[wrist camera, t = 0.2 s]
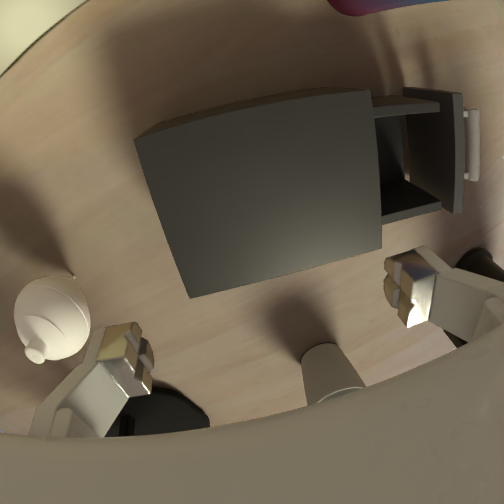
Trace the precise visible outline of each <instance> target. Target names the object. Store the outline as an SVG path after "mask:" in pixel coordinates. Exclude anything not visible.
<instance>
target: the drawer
mask: <svg viewBox="0 0 504 504" xmlns="http://www.w3.org/2000/svg"><path fill="white" fill-rule="evenodd" d="M403 94H404V97H403V96H395V95H392V96H379V97H371V98H372V105H373V113H374V121H375V130H376V140H377V150H378V162H379V176H380V194H381V224H382V225H384V224H388V223H392V222H395V221H399V220H403V219H407V218H411V217H414V216H418V215H422V214H426V213H430V212H433V211H437V210H441V207H442V208H444V209H445V210H447V211H448V212H450V213H452V214H457V213H461V212H462V207H463V193H464V179H467V180H470V181H478V180H479V167H480V121H479V109H477V108H472V107H464V108H463V98H462V93H457V92H450V91H443V90H435V89H426V88H417V87H403ZM463 109H464V110H463ZM400 115H406V121H407V133H408V148H409V170H410V182H409V181H407V180H405V176H404V154H403V139H402V127H401V116H400ZM464 130H465V135H464ZM464 169H465V171H464Z"/></svg>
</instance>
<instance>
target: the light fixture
mask: <svg viewBox="0 0 504 504" xmlns="http://www.w3.org/2000/svg"><path fill="white" fill-rule="evenodd" d="M455 268H458V269H462V270H465V271H468V272H472V273H475V274H478V275H482V276H485V277H488V278H491V279H495V280H498V281H501V282H504V270H503V269H502V268H500V267H499V266H498V265H497V264H496V263H495V262H493V259H492V256H491V254H490V253H489V252H488V251H487V250H485V249H484V248H482V247H477V248H474V249H472V250H470V251H469V252H467V253H466V254H465V255H464V256H463V257H462V258H461V259H460V260H459V262H458V263H457V265H456V266H455ZM443 331H444V332H445V333H446V335H447V336H448V337H449V339H450V340H451V341H452V342H453V344H454V345H455V346H456V348H459V347H461V346H463V345H465V344H467V343H469V342H467V341H465V340H463V339H461V338H459V337H457V336H456V335H454V334H452V333H450V332H448V331H446V330H444V329H443Z"/></svg>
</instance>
